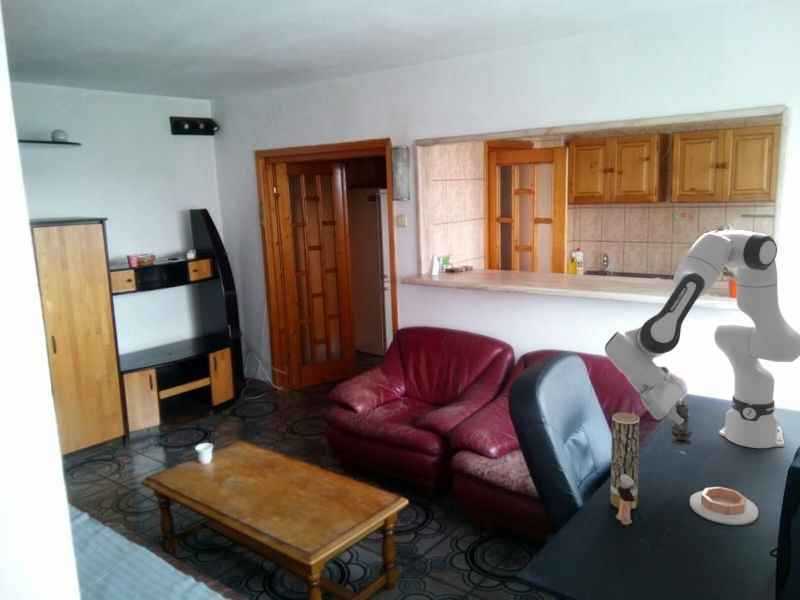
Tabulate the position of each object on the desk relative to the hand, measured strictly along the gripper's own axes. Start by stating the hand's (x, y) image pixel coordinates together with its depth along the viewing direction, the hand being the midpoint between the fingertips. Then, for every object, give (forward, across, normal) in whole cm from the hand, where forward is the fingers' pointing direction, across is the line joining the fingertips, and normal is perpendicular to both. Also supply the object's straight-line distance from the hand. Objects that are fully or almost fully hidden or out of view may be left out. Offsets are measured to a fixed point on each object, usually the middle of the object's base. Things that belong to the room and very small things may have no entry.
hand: (684, 419), depth 176 cm
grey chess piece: (+4, 0, +5) cm, 7 cm away
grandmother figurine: (+9, -28, +18) cm, 35 cm away
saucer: (+22, -8, +5) cm, 24 cm away
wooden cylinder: (+7, -20, +20) cm, 30 cm away
